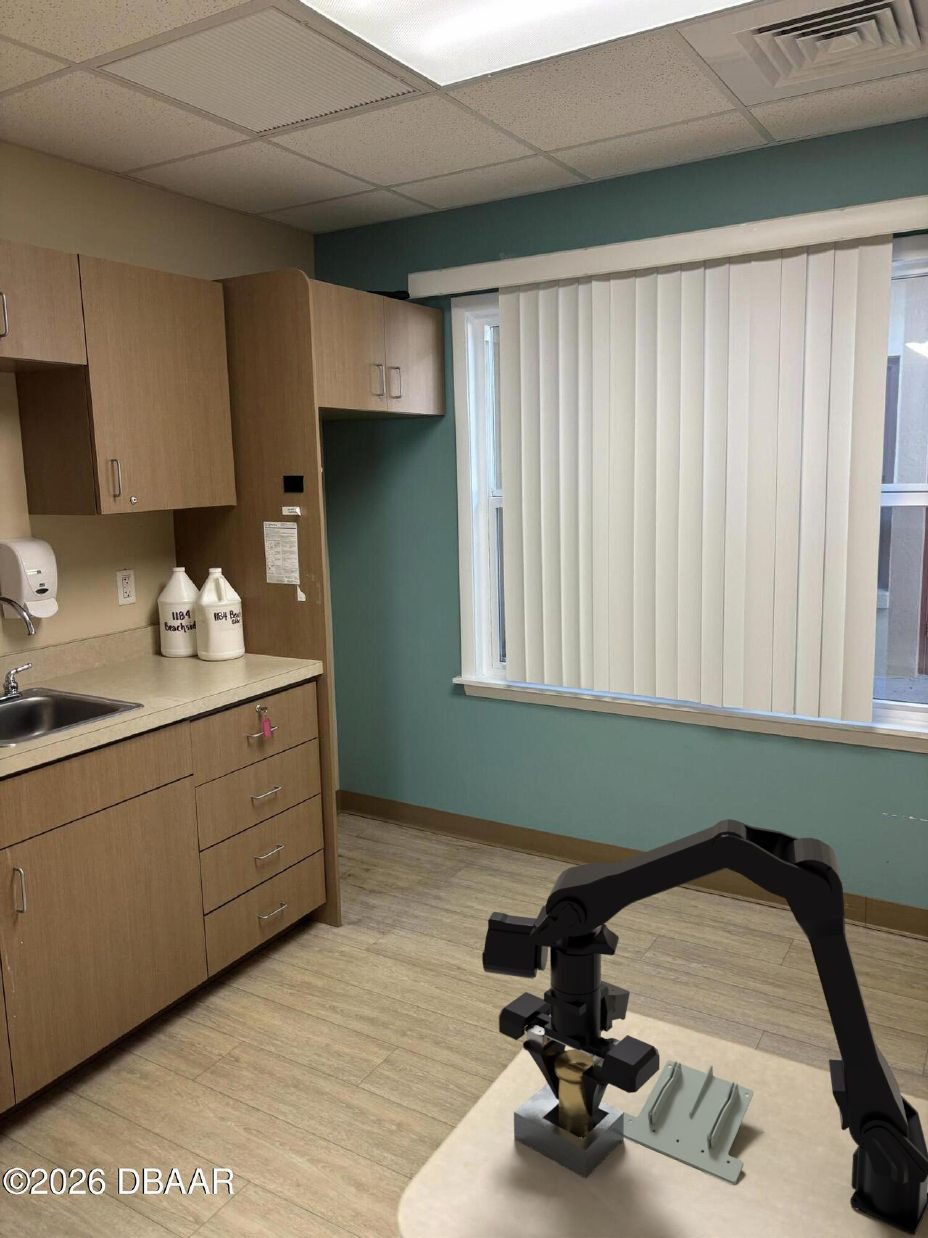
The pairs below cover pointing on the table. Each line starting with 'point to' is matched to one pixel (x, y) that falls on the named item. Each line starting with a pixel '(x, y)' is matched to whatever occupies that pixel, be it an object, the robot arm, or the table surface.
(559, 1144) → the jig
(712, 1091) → the metal bracket
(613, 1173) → the table surface
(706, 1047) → the table surface
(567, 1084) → the knob
